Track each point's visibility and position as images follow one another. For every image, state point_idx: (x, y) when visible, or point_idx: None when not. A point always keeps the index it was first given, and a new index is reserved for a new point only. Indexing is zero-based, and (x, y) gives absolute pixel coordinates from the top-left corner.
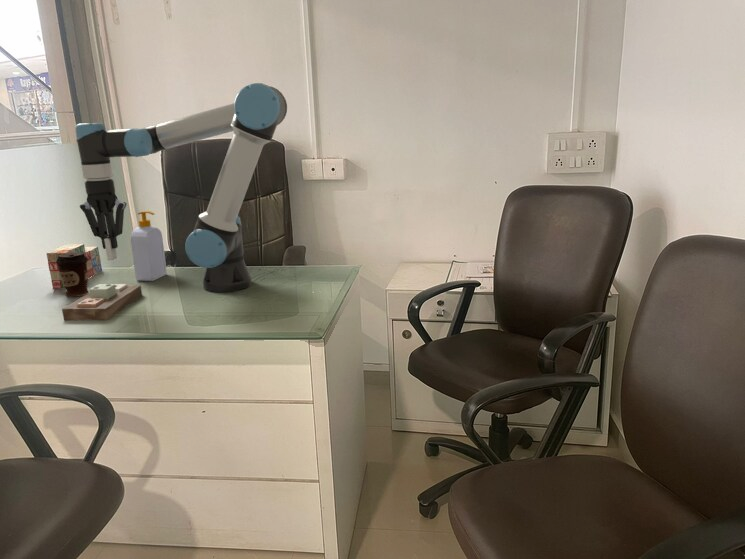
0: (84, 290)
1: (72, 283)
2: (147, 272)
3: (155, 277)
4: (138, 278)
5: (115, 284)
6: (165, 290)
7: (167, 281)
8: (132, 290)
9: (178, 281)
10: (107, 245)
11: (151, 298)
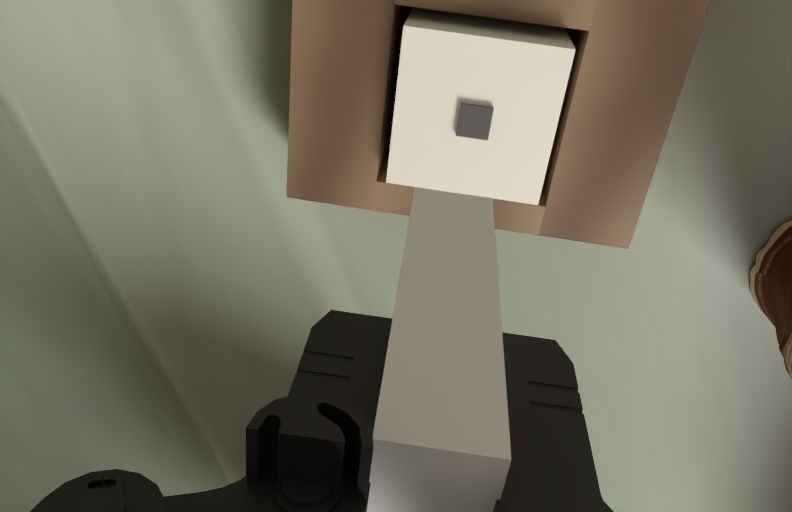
0: (786, 261)
1: None
2: None
3: None
4: None
5: (490, 188)
6: (181, 250)
7: None
8: (294, 42)
9: (184, 420)
10: (451, 336)
11: (197, 65)
